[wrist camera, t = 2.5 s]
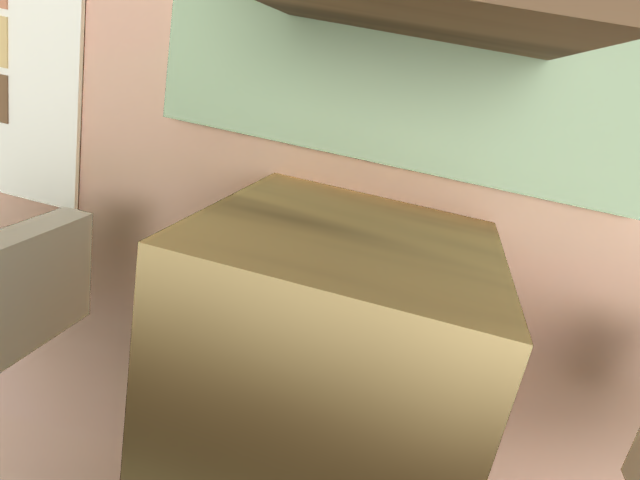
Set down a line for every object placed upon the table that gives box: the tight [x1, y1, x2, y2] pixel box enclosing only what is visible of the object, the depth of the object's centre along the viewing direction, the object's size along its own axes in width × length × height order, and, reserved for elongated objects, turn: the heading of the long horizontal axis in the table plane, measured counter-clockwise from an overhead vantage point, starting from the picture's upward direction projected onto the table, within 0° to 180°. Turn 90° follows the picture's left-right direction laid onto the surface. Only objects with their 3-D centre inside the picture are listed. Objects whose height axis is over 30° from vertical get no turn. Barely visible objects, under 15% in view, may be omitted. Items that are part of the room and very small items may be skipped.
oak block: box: [120, 173, 533, 480], centre depth 12 cm, size 6×6×7 cm
